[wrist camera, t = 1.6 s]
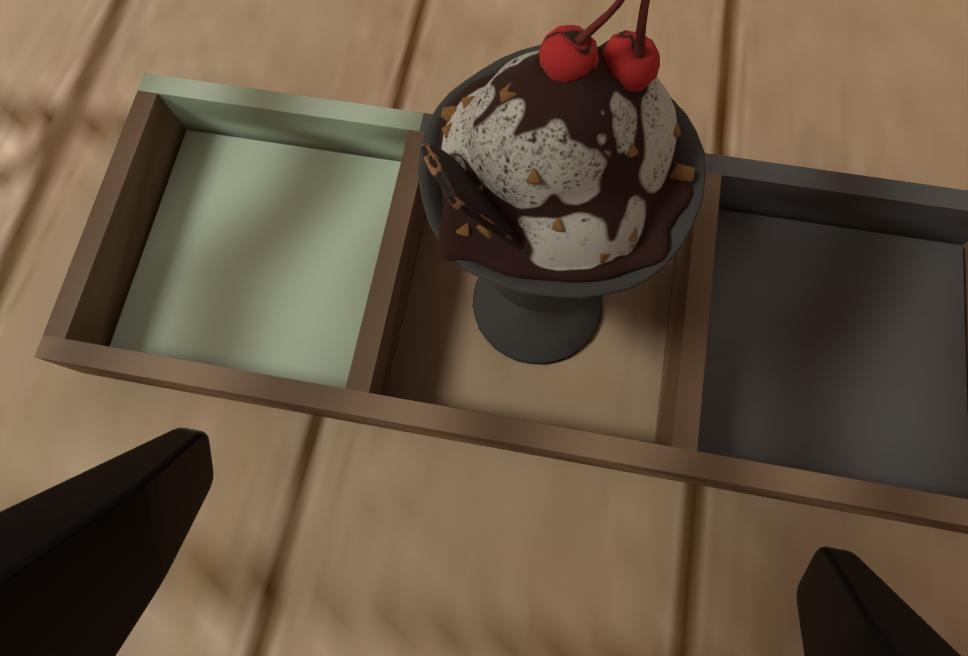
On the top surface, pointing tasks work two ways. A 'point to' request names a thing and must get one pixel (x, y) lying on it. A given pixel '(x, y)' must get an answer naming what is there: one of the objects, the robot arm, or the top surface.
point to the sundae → (560, 184)
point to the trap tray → (361, 398)
